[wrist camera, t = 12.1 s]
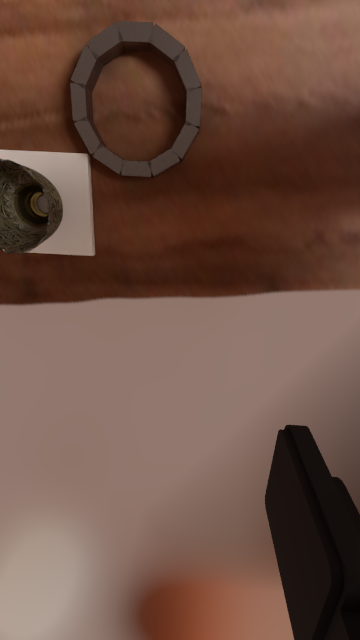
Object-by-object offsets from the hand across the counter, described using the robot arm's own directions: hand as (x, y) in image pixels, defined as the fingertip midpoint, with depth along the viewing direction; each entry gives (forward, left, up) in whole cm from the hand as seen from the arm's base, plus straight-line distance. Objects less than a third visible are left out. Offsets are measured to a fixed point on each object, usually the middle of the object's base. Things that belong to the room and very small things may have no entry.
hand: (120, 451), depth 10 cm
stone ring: (+4, -14, -28) cm, 32 cm away
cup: (+14, -5, -28) cm, 31 cm away
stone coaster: (+14, -5, -28) cm, 32 cm away
